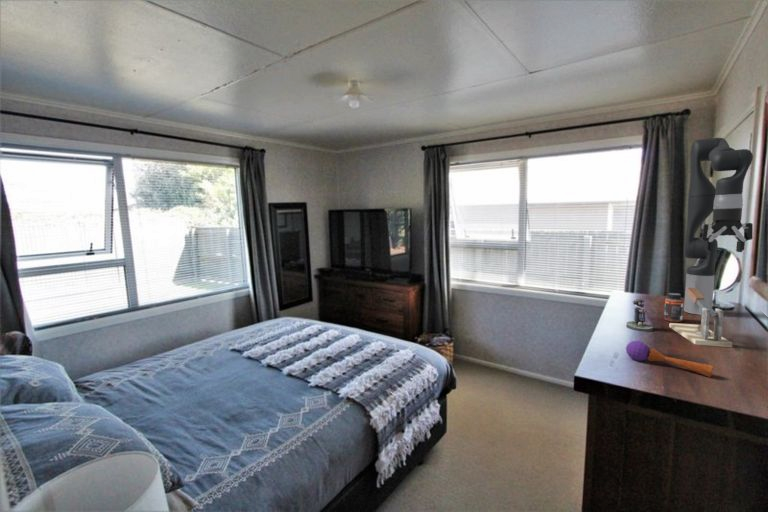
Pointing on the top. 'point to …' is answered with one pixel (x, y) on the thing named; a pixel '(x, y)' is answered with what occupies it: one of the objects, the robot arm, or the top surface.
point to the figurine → (639, 318)
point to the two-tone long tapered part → (664, 358)
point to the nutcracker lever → (700, 301)
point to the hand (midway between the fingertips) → (724, 251)
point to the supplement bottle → (673, 308)
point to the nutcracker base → (704, 330)
